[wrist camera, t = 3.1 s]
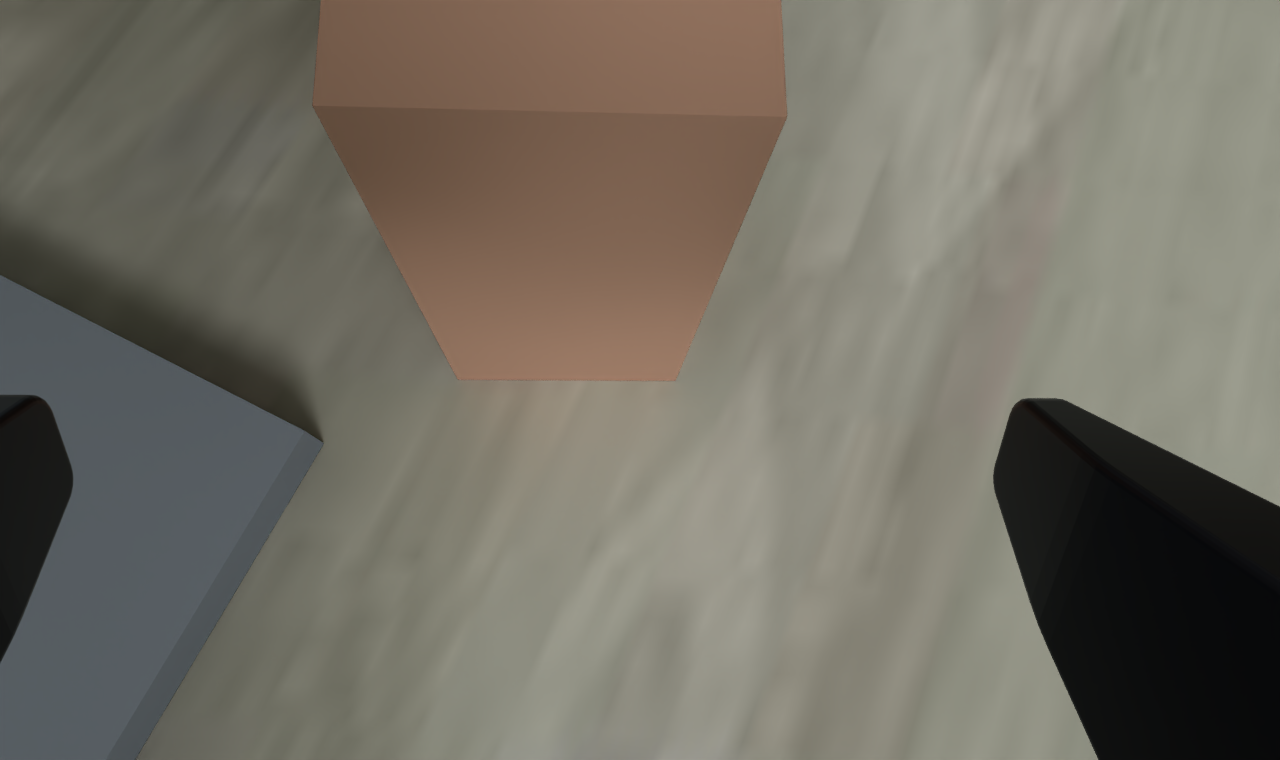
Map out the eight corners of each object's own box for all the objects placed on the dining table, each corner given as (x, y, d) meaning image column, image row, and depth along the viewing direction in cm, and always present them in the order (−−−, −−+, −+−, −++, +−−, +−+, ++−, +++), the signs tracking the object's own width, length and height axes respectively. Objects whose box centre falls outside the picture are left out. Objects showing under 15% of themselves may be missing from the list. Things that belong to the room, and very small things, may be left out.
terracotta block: (675, 380, 22) (786, 116, 10) (458, 379, 21) (312, 105, 10) (671, 182, 23) (767, -260, 11) (465, 178, 22) (343, -281, 11)
